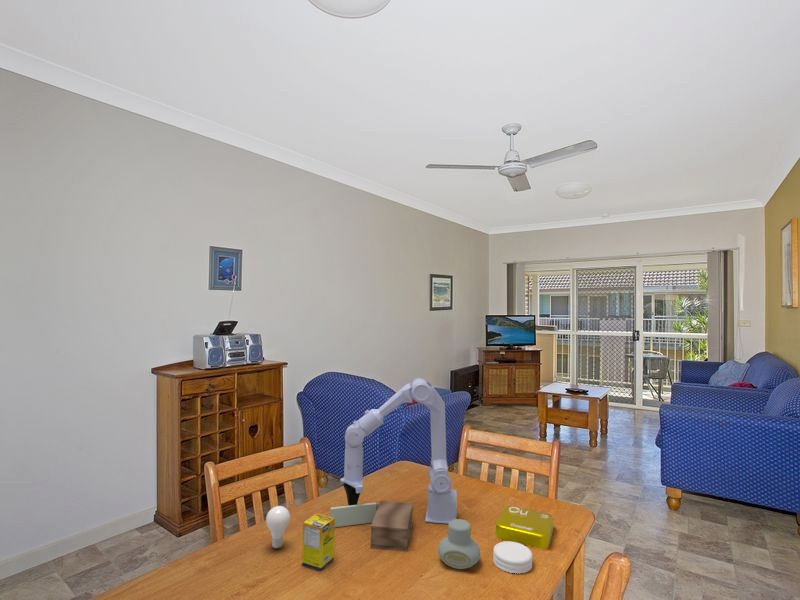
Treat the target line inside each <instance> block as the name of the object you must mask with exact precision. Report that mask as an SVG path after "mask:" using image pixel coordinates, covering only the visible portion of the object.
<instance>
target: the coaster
mask: <svg viewBox="0 0 800 600" xmlns="http://www.w3.org/2000/svg"><path fill="white" fill-rule="evenodd" d="M492 556H493V557H492V558H493V559H492V561H493V564H494V565H495V567H497V568H498V569H499V568H500V569H499V570H501V571H503V572H505V571H506V573H508V572H509V574H512V573H515V574H514V575H521V574H520V573H524V574H526V572H527V573H529V572H530V571H531V569H532V568H533V552H532V550H531V549H530V547H528V546H524V545H522V544H520V543H517V542H511V541H500V542H498V543H496V544H495V545H494V546H493V554H492ZM528 571H529V572H528ZM516 573H517V574H516ZM518 573H519V574H518Z"/></svg>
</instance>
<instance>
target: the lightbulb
mask: <svg viewBox="0 0 800 600" xmlns="http://www.w3.org/2000/svg"><path fill="white" fill-rule="evenodd" d="M290 521H291V514H290V511H289V509H287V508H286V507H285V506H283V505H276V506H273V507H272V508H271V509H270V510H269V511H268V512H267V514H266V518H265V523H266V526H267V528H268V529H269V531H270V533H271V535H270V536H271V537H272V541H271V542H272V544H271V546H272V548H274V549H280V548H281V547H283V540H284V539H283V538H284V536H285V535H284V534H285V531H286V528H287V527H288V525H289V524H290Z"/></svg>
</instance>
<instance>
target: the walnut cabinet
mask: <svg viewBox="0 0 800 600" xmlns="http://www.w3.org/2000/svg"><path fill="white" fill-rule="evenodd" d="M412 525H413V503H411V502H410V503H409V502H398V501H397V502H396V501H388V500H387V501H385V500H380V501H379V504H378V509H377V511H376V514H375V517H374V519H373V522H371V525H370V549H378V550H388V551H389V550H390V551H401V552H407V551H408V547H409V546H408V545H409V541H410V536H411V532H412V531H411V530H412Z"/></svg>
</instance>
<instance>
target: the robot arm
mask: <svg viewBox="0 0 800 600" xmlns="http://www.w3.org/2000/svg"><path fill="white" fill-rule="evenodd" d="M413 400H414V401H416V403H419V404H421V405H424V406H426V408H428V409H429V410H430V411H429V412H430V414H429V415H430V440H431V441H430V444H431V445H430V446H431V452H430V453H431V459H430V466H429V469H428V478H429V479H430V483H429V484H428V486H427V509H426V513H425V514H426V515H425V522H426V523H433V524H434V523H435V524H447V525H448V524H449V522H450V521H452V520H455V519H457V516H458V515H459V514H458V512H459V511H458V508H457V507H458V504H457V503H458V501H457V500H458V491H457V489H452V488H451V487H452V479H451V477H450V475H449V466H448V461H447V434H446V433H447V431H446V406H445V405H446V404H445V401H444V400H443V399H442V397H441V395H440V394H439V392H437V390H436V389H435V387H434V386H433V384H432V383H430V382H429V381H427V380H426V379H425V378H423V377H416V378H413V380H411V382H408V383H407V384H405V385H403V387H401V388H400V389H398V391H396V393H394V394H393V395H392V396H391V397H389V399H388V400H386V401H385V402H384V403H383V404H382V405H381V406H379V408H378V409H377V408H376V409H375V408H372V409H370V410H369V409H367V410H365V411H364V414H363V416H360V418H359V419H358V420H356V419H355V420H354V421H353V422H352V424H350V425H349V426H348V427H347V428H346V431H345V433H344V441H345V444H344V445H345V449H344V468H343V469H344V471H343V473H344V474H343V475H344V476H343V477H341V478H340V479H339V480H340V482H341V483H342V486H343V488H344V491H345V494H346V498H347V499H346V500H347V506H350V505H358V502H359V498H360V495H361V494H363V493H364V485H363V482H364V477H363V472H364V471H363V468H364V465H363V464H364V449H363V442H364V439H365V437H368V436H369V435H371V434H372V433H374V431H376V430H378V428H380V426H382V425H383V424H384V418H385V417H386V416H388V415H389V414H390V413H392V412H393V411H395V409H397V408H398V407H400V406H401V405H403V404H405V403H408V404H409V403H413Z"/></svg>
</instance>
